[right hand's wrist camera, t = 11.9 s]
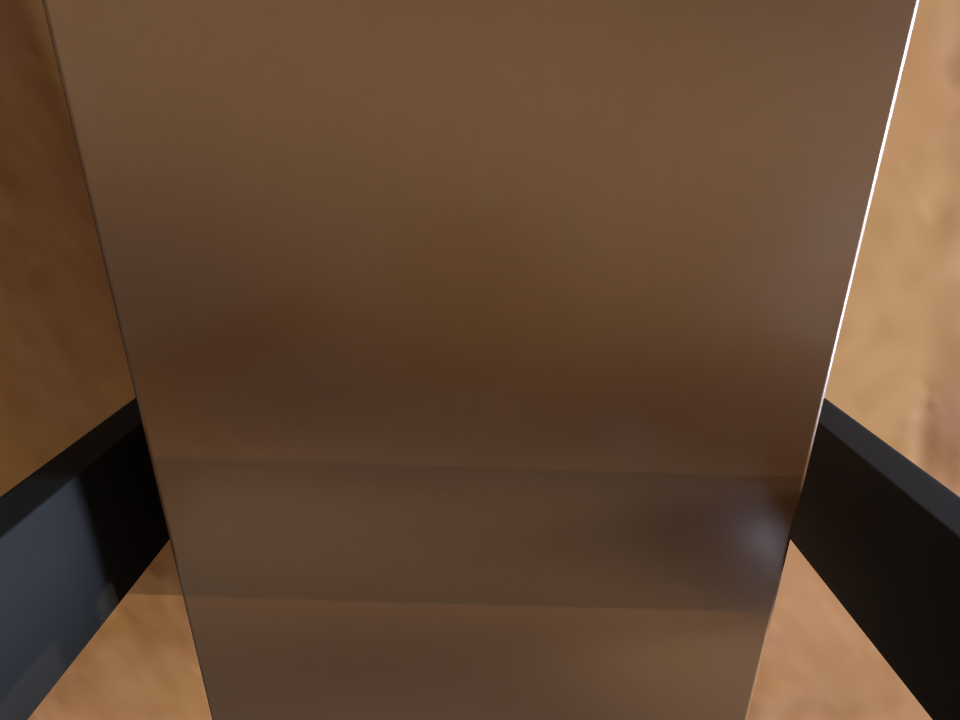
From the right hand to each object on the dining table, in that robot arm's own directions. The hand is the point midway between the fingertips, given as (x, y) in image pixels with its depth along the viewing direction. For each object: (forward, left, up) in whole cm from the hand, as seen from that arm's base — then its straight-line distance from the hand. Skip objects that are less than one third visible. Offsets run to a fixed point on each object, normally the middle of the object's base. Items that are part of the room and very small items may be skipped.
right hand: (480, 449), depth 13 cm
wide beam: (+3, -25, -3) cm, 26 cm away
